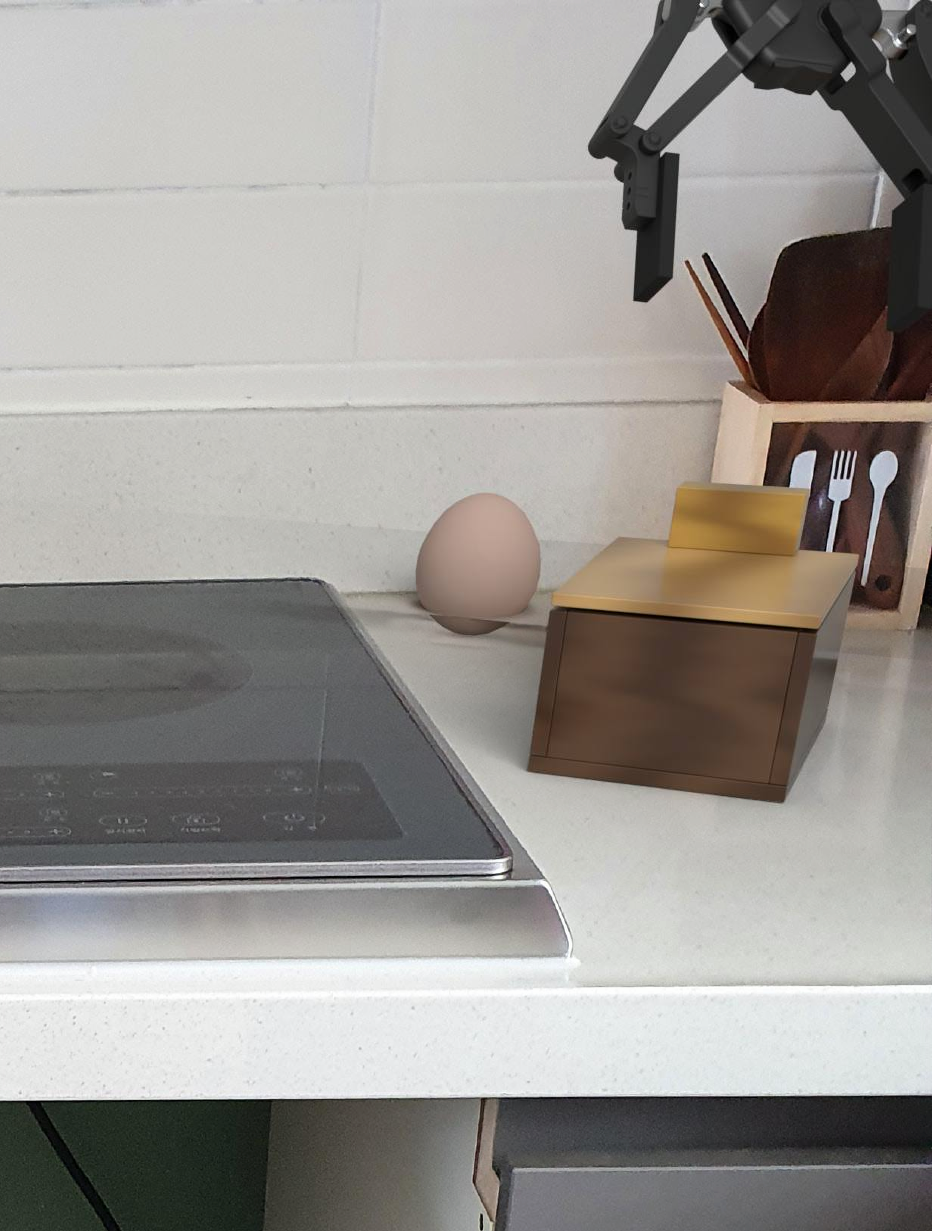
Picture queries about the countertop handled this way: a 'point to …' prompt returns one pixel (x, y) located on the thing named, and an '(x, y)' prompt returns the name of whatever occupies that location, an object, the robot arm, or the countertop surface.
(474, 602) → the egg
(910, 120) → the robot arm
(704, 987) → the countertop surface
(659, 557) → the lid
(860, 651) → the countertop surface
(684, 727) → the box
